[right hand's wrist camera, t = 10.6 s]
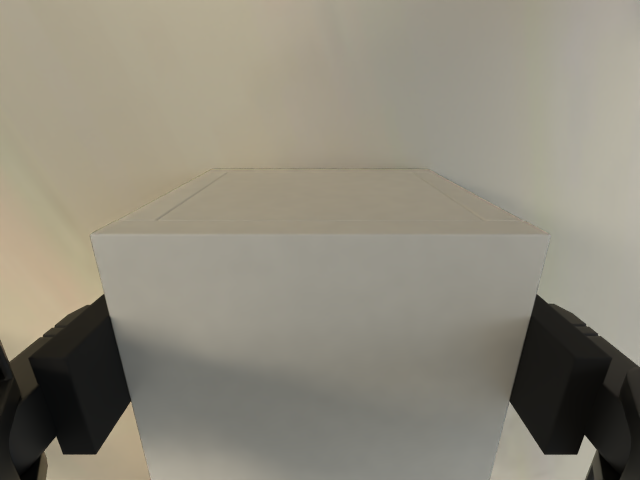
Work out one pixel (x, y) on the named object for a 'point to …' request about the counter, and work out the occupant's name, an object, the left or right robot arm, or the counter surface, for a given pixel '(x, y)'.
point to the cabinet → (320, 324)
